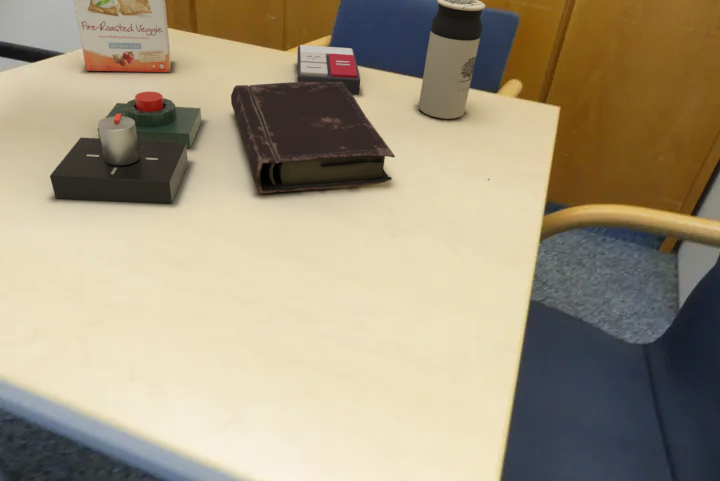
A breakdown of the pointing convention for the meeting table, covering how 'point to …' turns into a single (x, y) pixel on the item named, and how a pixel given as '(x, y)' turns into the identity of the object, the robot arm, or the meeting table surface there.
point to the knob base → (121, 173)
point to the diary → (307, 137)
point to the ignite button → (149, 101)
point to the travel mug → (451, 58)
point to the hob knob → (119, 140)
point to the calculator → (328, 66)
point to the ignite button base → (162, 122)
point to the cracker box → (124, 35)
